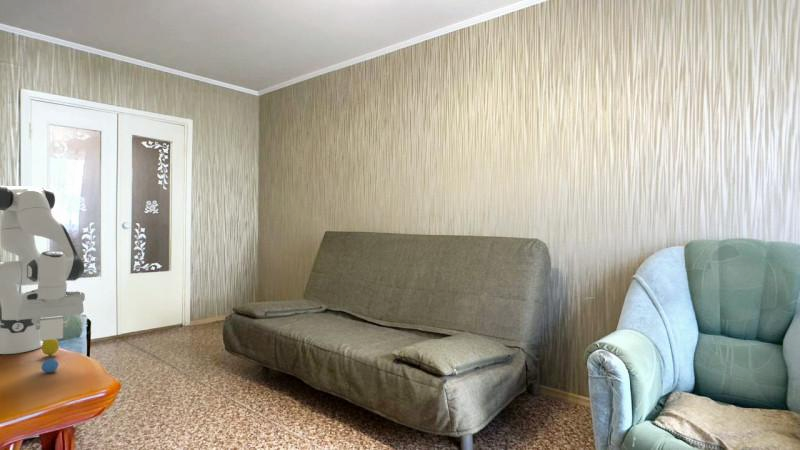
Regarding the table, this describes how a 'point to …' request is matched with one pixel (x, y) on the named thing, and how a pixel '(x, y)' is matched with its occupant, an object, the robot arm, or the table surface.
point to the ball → (49, 365)
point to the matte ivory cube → (51, 328)
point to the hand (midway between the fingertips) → (51, 327)
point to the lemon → (50, 346)
